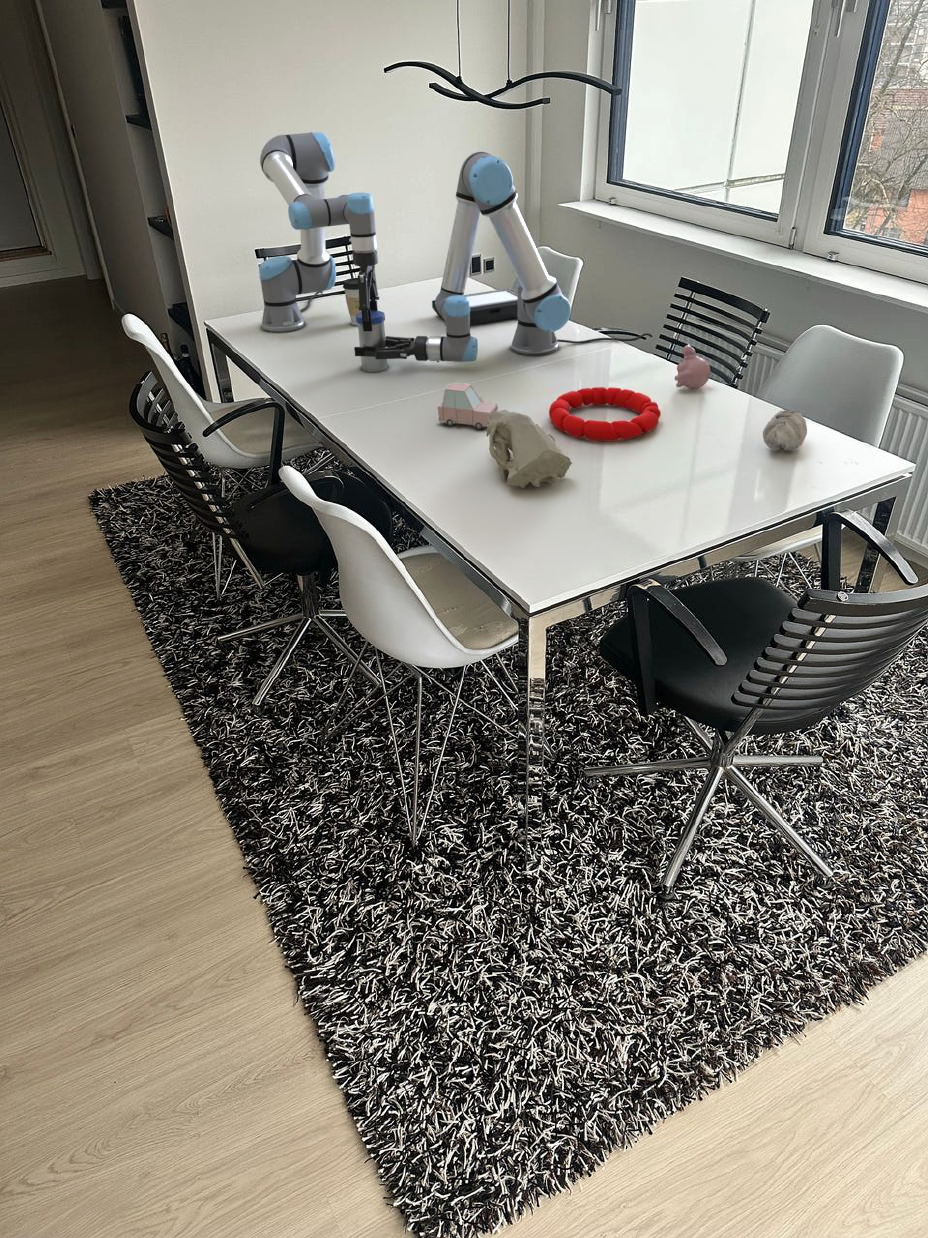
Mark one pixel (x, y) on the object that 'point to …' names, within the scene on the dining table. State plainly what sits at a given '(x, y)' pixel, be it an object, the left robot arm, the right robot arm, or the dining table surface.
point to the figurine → (692, 370)
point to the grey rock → (525, 450)
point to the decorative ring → (604, 428)
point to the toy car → (465, 406)
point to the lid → (372, 317)
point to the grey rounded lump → (785, 431)
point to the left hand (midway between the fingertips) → (371, 326)
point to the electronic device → (490, 306)
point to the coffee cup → (352, 298)
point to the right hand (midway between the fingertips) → (358, 346)
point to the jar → (371, 340)
